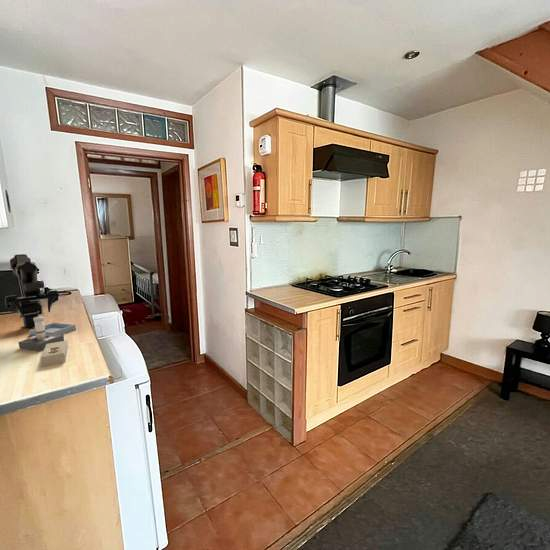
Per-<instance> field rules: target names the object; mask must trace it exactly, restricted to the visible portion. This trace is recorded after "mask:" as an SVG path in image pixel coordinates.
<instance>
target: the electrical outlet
mask: <svg viewBox="0 0 550 550" xmlns="http://www.w3.org/2000/svg"><path fill="white" fill-rule="evenodd" d="M68 348H69V343H68V340H64V341H61V342H55V343H49V344H46V346H45V348H44V350H42V352H41V355H40V358H39V359H40V365H41V368H43V366H44V367H49V366H53V365H52V364H54V365H58V364H57V363H59V364H64V363H66V362H65V361H67V356H66V355H68ZM63 362H64V363H63ZM48 365H49V366H48Z"/></svg>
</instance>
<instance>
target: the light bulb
mask: <svg viewBox="0 0 550 550" xmlns="http://www.w3.org/2000/svg"><path fill="white" fill-rule="evenodd" d="M33 320H34V323H35V328H34V329H35V330H36V337H37V341H42V340H43V339H45V338H46V332H45V325H46V324H45V317H44V315H40V316H39V315H38V317H34V318H33Z"/></svg>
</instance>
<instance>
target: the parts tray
mask: <svg viewBox="0 0 550 550" xmlns="http://www.w3.org/2000/svg"><path fill="white" fill-rule="evenodd" d="M44 325H45V332H46V333H48V334H58V335H65V334H67V333H70V332H72V330H73V331H74V330H77V326H76V324H75V323H73V324H72V323H62V322H51V323H48V324H44ZM28 331H29V336H30V337H33V336H36V330H35V328H32V329H28ZM64 333H65V334H64Z"/></svg>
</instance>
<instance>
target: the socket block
mask: <svg viewBox="0 0 550 550" xmlns="http://www.w3.org/2000/svg"><path fill="white" fill-rule="evenodd" d="M64 335H65V334H62V335H58V334H48V333H46V338H45V339H43V340H42V341H37V337H36V336H30V337H28V338H25V339H24V340H21V341H18V348H20V349H19V350H25V349H28V350H27V351H33V350H36V351H35V352H42V351H43V349H44V348H45V346H46V344H49V343H55V342H61V341H65V338H64ZM41 350H42V351H41Z"/></svg>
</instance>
